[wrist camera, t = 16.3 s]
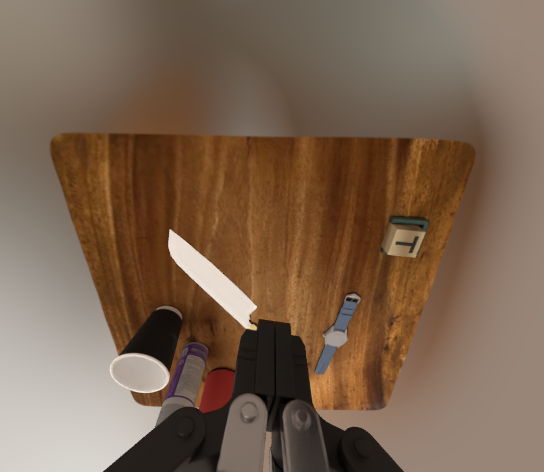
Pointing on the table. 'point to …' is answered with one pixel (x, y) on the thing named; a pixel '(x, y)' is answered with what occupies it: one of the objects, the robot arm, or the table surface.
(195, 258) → the knife
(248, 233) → the table surface
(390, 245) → the letter tile
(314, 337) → the table surface
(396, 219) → the frame
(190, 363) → the container
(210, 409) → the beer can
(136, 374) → the dixie cup
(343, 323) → the wristwatch
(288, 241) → the table surface
